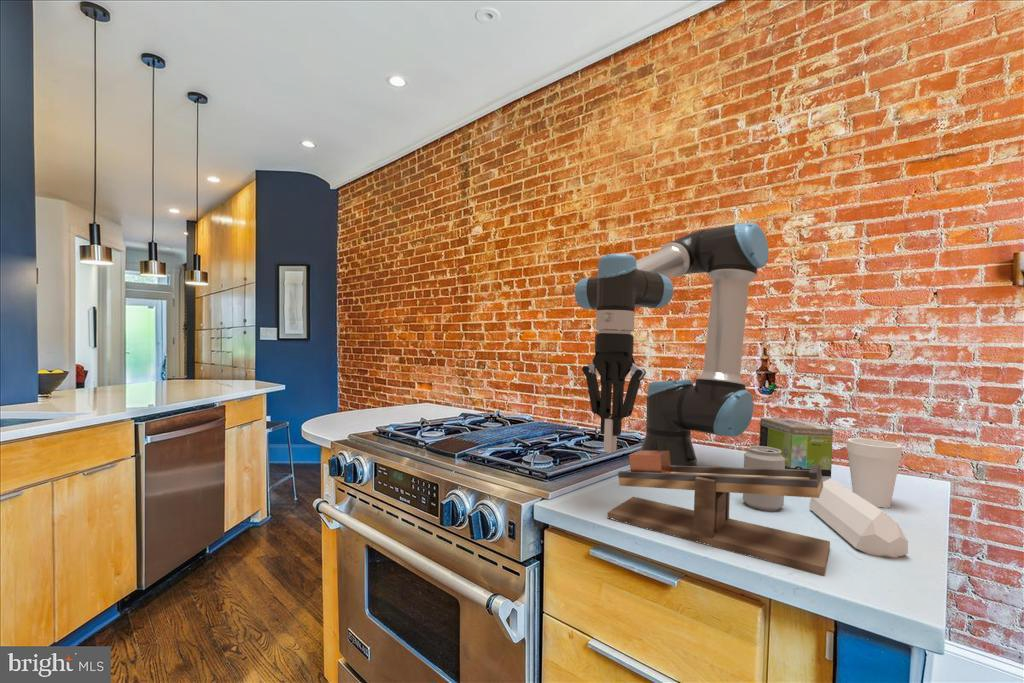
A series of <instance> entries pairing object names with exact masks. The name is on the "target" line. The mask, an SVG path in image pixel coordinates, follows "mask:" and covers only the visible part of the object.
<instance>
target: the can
mask: <svg viewBox="0 0 1024 683" xmlns="http://www.w3.org/2000/svg"><path fill="white" fill-rule="evenodd" d="M747 449H748V450H747V451H745V453H744V454H743V468H766V469H785V458H784V457H783V456H782V455H781V452H782V451H781V450H779V449H776V448H772V447H765V446H760V445H750V446H747ZM742 500H743V501H744V502H745V504H746V505H747V506H748V507H750V508H753V509H756V510H761V511H764V512H766V511H767V512H775V511H776V512H777V511H779V510H780V509H781V508H783V507H784V505H785V504H784V503H785V496H779V495H763V494H747V493H742Z"/></svg>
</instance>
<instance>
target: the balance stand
mask: <svg viewBox="0 0 1024 683" xmlns="http://www.w3.org/2000/svg"><path fill="white" fill-rule="evenodd" d="M711 467H723V466H722V465H717V464H713V465H711ZM730 494H731V492H716V480H712V479H707V478H702V477H696V478H695V490H694V496H693V497H694V501H693V502H694V504H693V509H690V508H689V509H688V508H684V507H681V506H677V505H671V504H667V503H663V502H658V501H655V500H649V499H646V498H645V499H644V498H640V497H637V496H631V497H630V498H628V499H627V500H625V501H624V502H622V503H620V504H619V505H617V506H615V507H614V508H612V509H611V510H609V511H608V512H607V518H608V517H609V518H613V519H615V520H618V521H617V522H619V521H622V522H627V523H630V524H633V525H632V526H634V525H637V526H640V527H639V528H641V527H644V528H643V529H645V528H648V529H647V530H649V529H652V530H651V531H653V530H656V531H659V532H658V533H660V532H665V533H668V534H671V535H670V536H672V535H675V536H679V537H682V538H681V539H683V538H686V539H685V540H687V539H690V540H694V541H698V542H701V543H700V544H702V543H705V544H704V545H706V544H709V545H712V546H711V547H713V546H716V547H715V548H717V547H720V548H719V549H721V548H723V549H722V550H724V549H726V551H728V550H730V551H729V552H732V551H734V552H733V553H736V552H738V553H737V554H740V553H742V554H741V555H743V554H746V555H745V556H747V555H751V556H754V557H753V558H755V557H758V558H757V559H759V558H762V559H766V560H769V561H768V562H770V561H772V562H771V563H774V562H775V564H777V563H779V564H778V565H781V564H782V565H781V566H784V567H785V566H786V567H789V568H793V569H796V570H801V571H804V572H808V573H812V574H816V575H819V576H823V577H824V576H825V575H826V570H827V564H828V559H829V555H830V550H831V541H830V540H826V539H821V538H817V537H812V536H807V535H803V534H798V533H795V532H791V531H786V530H782V529H777V528H773V527H769V526H764V525H759V524H756V523H752V522H745V521H742V520H737V519H733V518H730V501H731V500H730V499H731V498H730V496H731V495H730ZM615 520H614V521H615ZM622 522H621V523H622ZM630 524H629V525H630ZM637 526H636V527H637ZM656 531H655V532H656ZM668 534H667V535H668ZM675 536H674V537H675ZM679 537H678V538H679ZM690 540H689V541H690ZM694 541H693V542H694ZM698 542H697V543H698ZM709 545H708V546H709ZM751 556H750V557H751ZM762 559H761V560H762ZM766 560H765V561H766Z"/></svg>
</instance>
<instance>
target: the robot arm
mask: <svg viewBox="0 0 1024 683" xmlns="http://www.w3.org/2000/svg"><path fill="white" fill-rule="evenodd" d="M769 251H770V250H769V244H768V239H767V237H766V235H765V232H764V230H763V229H762V227H761V226H759V225H758V224H757V223H755V222H744V223H743V222H742V223H740V222H737V223H735V224H728V225H723V226H717V227H712V228H706V229H705V228H704V229H700V230H699V229H698V230H697V231H692V232H691V233H687V234H685V235H683V236H680V237H679V238H676V239H674V240H672V241H670V242H667V243H665V244H664V245H662V246H661V247H660V248H659V249H658V251H656V252H652V253H651V254H649V255H646V256H644V257H641V258H639V259H637V258H636V257H635V256H634V255H632V254H628V253H609V254H608V253H607V254H605V255H603V256H601V257H599V258H598V259H599V260H598V265H597V272H596V273H597V274H596V276H589V277H586V278H585V277H584V278H581V279H580V280H578V282H576V285H575V288H574V297H575V302H576V304H577V305H578V306H579V307H580V308H581V309H584V310H592V311H595V330H596V331H597V332H598V333H596V334H595V337H594V356H593V357H592V362H591V363H589V364H588V365H583V366H582V367H581V370H582V372H583V374H584V377H585V380H586V384H587V390H588V396H589V401H590V408H591V412H592V413H593V414H594V415H595V414H596V415H597V416H599V417H600V434H602V435H603V453H609V454H612V453H614V452H617V446H618V445H617V440H618V437H619V436H621V435H622V421H623V419H624V418H628V417H631V416H632V414H633V413H632V412H633V409H634V406H635V404H636V400H637V395H638V391H639V387H640V384H641V382H642V380H643V378H644V377H645V376H646V373H647V371H646V370H645V369H644V368H643V369H641V368H640V367H639V366H638V365H636V360H635V359H634V355H633V354H634V343H635V342H634V340H635V338H634V337H635V336H634V334H632V332H634V331H635V312H636V311H635V310H636V309H635V308H648V309H661V308H664V307H666V306H667V305H668V304H669V303H670V302H671V300H672V298H673V295H674V291H675V290H674V284H673V282H672V280H671V278H680V277H681V276H684V275H691V274H704V273H707V274H706V275H707V278H709V280H711V282H712V285H711V286H712V287H711V293H710V294H711V296H710V304H709V305H710V306H709V313H708V324H707V325H708V326H707V333H706V342H705V352H704V359H703V361H704V362H703V369H702V373H701V374H699V375H698V376H697V377H696V379H695V384H694V383H693V380H692V379H679V380H661V381H657V380H655V381H652V382H650V383H649V384H648V385H647V393H646V418H645V419H646V420H645V421H646V422H645V423H646V426H645V430H646V432H645V437H644V439H643V441H642V444H641V448H640V450H643V451H669V453H670V462H671V465H676V466H698V460H697V455H696V451H695V449H694V445H693V441H692V439H691V438H692V435H691V434H692V431H694V432H697V433H698V432H699V433H704V434H710V435H715V436H718V437H730V438H735V437H739V436H741V435H743V433H745V431H746V429H748V427H749V425H750V423H751V421H752V418H753V414H754V409H755V403H754V398H753V397H754V396H753V394H751V392H750V391H748V390H746V388H747V387H746V384H747V383H746V382H745V381H744V380H743V379H742V377H741V367H742V358H743V349H744V340H745V339H744V337H745V327H746V318H747V307H748V298H749V290H750V289H749V288H750V284H751V283H752V282H753V281H754V280H755V279H756V278H757V276H758V269H762V268H764V267H766V265H767V264H768V262H769V257H770V256H769V254H770V252H769ZM597 372H598V374H599V376H600V378H599V379H600V380H599V381H598V376H597V374H596V373H597ZM629 373H630V379H629V382H628V386H627V390H626V393H625V390H624V389H625V384H626V377H627V376H628V375H629ZM599 382H600V386H599ZM624 393H625V397H624Z"/></svg>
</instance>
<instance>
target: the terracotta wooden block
mask: <svg viewBox="0 0 1024 683" xmlns="http://www.w3.org/2000/svg"><path fill="white" fill-rule="evenodd" d="M628 458H629V459H628V460H629V468H630V471H631V472H654V473H671V472H672V471H671V462H670V453H669V451H643V450H641V449H640V450H637V451H635V452H632V453H630V454H628Z"/></svg>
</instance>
